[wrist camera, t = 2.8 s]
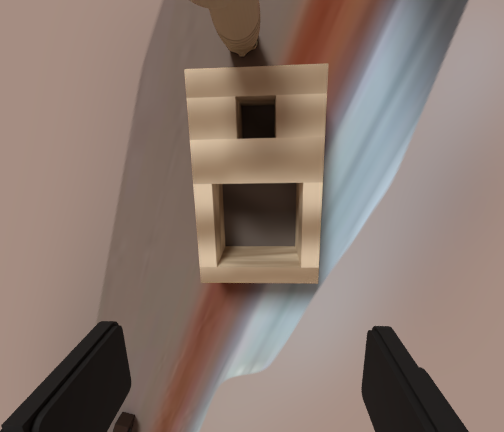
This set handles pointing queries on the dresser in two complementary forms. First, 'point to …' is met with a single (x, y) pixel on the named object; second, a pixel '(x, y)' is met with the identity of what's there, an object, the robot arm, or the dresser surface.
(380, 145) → the dresser surface
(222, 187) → the socket block
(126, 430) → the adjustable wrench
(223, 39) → the handle
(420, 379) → the robot arm
